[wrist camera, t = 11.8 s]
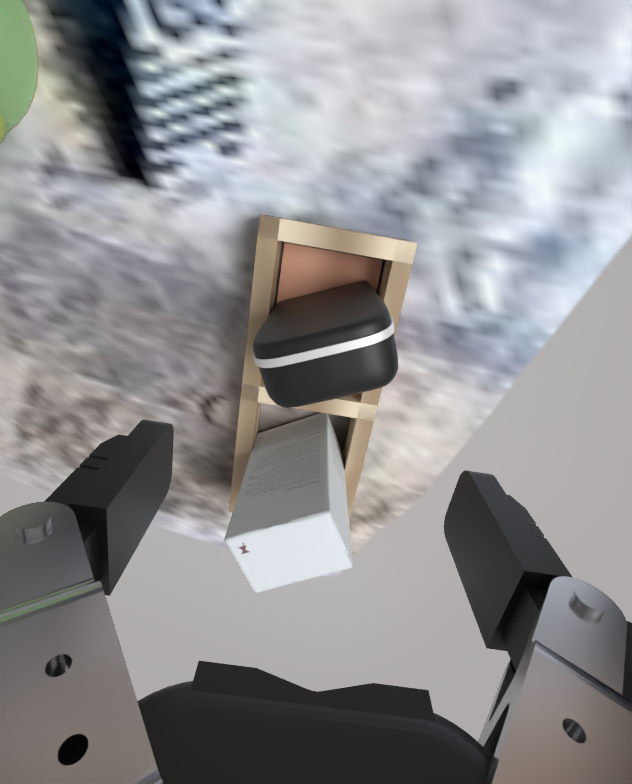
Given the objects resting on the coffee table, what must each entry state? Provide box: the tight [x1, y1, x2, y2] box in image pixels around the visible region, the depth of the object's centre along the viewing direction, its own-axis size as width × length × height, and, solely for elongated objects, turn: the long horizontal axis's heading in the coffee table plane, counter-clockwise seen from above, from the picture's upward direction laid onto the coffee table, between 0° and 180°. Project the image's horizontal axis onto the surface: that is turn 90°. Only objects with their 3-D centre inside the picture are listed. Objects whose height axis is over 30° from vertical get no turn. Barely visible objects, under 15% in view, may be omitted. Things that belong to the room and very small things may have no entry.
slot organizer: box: [229, 215, 418, 519], centre depth 30 cm, size 9×22×3 cm, turn 171°
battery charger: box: [253, 280, 398, 408], centre depth 24 cm, size 7×4×11 cm, turn 104°
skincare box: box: [224, 413, 352, 593], centre depth 28 cm, size 6×4×12 cm
